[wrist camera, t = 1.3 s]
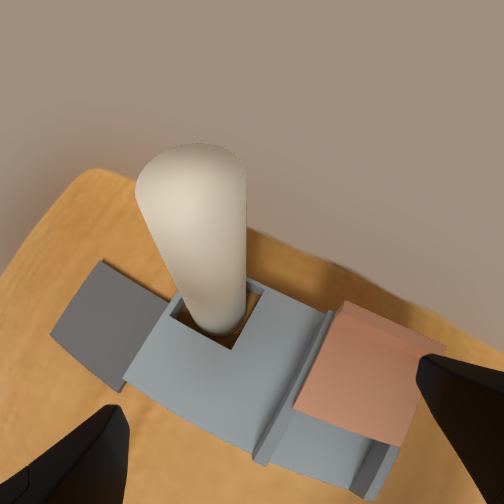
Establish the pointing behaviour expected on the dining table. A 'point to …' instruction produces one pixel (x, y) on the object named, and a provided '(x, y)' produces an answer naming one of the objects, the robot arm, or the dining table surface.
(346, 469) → the puzzle board
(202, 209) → the peg
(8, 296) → the dining table surface
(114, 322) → the mat
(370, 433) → the cover
